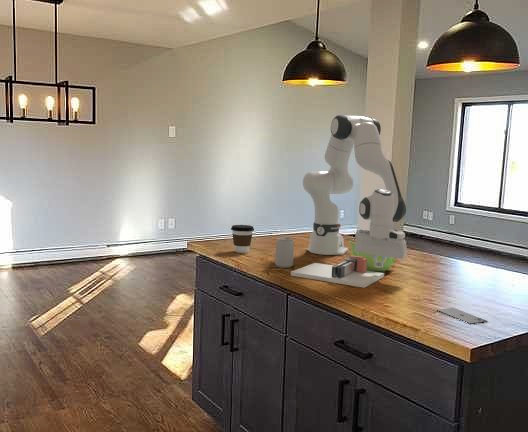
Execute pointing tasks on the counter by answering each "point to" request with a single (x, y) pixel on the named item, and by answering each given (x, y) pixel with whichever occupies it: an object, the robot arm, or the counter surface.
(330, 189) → the robot arm
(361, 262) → the lock tab
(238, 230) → the coffee cup
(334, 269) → the tongs arm
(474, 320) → the smartphone
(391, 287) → the counter surface
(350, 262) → the tongs fixed
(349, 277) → the board
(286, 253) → the can
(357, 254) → the teapot
